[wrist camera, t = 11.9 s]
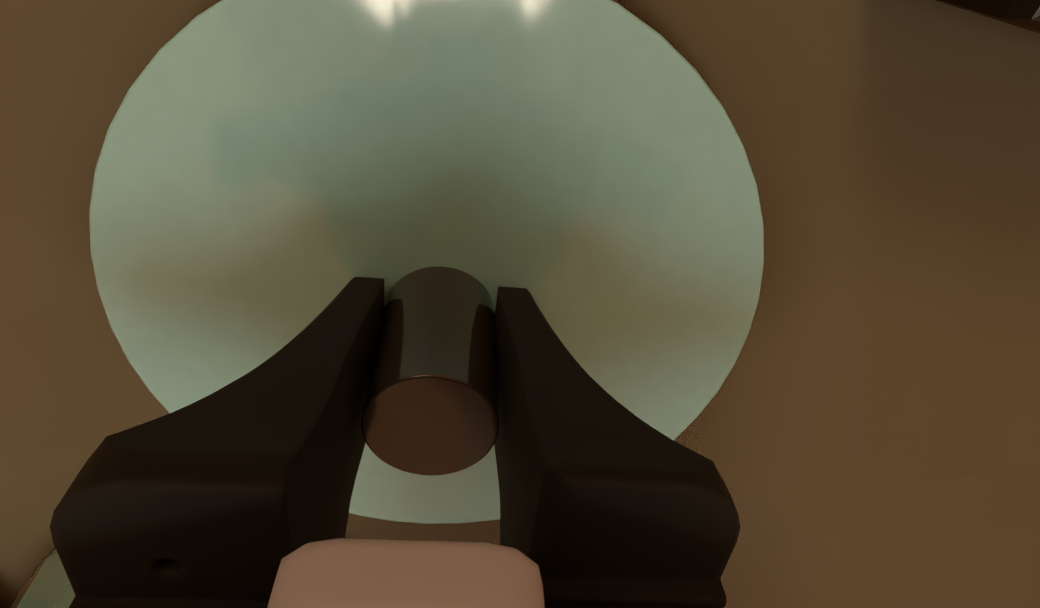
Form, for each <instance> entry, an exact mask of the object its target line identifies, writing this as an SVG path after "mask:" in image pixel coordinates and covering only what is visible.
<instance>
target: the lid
mask: <svg viewBox="0 0 1040 608" xmlns="http://www.w3.org/2000/svg"><path fill="white" fill-rule="evenodd" d="M89 219H90V252H91V257H92V262H93V268H94V273H95V278H96V283H97V288H98V292H99V295H100V298H101V301H102V304H103V306H104V309H105V312H106V315H107V318H108V321H109V323H110V326H111V328H112V330H113V332H114V334H115V336H116V338H117V340H118V342H119V344H120V346H121V348H122V350H123V351H124V353H125V355H126V357H127V359H128V361H129V362H130V364H131V365H132V367H133V368H134V370H135V371H136V372H137V374H138V375H139V377H140V378H141V380H142V381H143V382H144V384H145V385H146V387H147V388H148V390H149V391H150V392H151V393H152V394H153V395H154V397H155V398H156V399H157V400H158V401H159V402H160V403H161V404H162V406H163V407H164V408H165V409H166V410H167V411H168V412H169V413H172V412H174V411H176V410H179V409H181V408H183V407H185V406H188V405H190V404H192V403H194V402H196V401H198V400H200V399H202V398H204V397H206V396H208V395H210V394H212V393H214V392H216V391H218V390H219V389H221V388H223V387H225V386H226V385H228V384H230V383H232V382H233V381H235V380H237V379H239V378H240V377H242V376H244V375H245V374H247V373H249V372H250V371H252V370H253V369H255V368H256V367H258V366H259V365H261V364H262V363H263V362H265V361H266V360H268V359H269V358H270V357H272V356H273V355H274V354H275V353H277V352H278V351H279V350H280V349H282V348H283V347H284V346H285V345H286V344H288V343H289V342H290V341H291V340H292V339H293V338H294V337H296V336H297V335H298V334H299V333H300V332H301V331H303V330H304V329H305V328H306V327H307V326H308V325H309V324H310V323H311V322H312V321H313V320H314V319H315V318H316V317H317V316H318V315H319V314H320V313H321V312H322V311H323V310H324V309H325V308H326V307H327V306H328V305H329V304H330V303H331V302H332V300H333V299H334V298H335V297H336V296H337V295H338V294H339V293H340V292H341V290H342V289H343V288H344V287H345V286H346V285H347V283H348V282H349V281H350V280H351V279H353V278H354V277H367V278H382V279H384V312H383V316H382V321H381V326H380V331H379V335H378V340H377V344H376V349H375V354H374V358H373V363H372V368H371V372H370V377H369V382H368V387H367V391H366V396H365V401H364V406H363V410H362V415H361V431H362V434H363V437H364V439H365V442H366V443H365V447H364V450H363V454H362V458H361V461H360V465H359V468H358V472H357V476H356V479H355V484H354V488H353V492H352V497H351V502H350V508H349V513H351V514H355V515H359V516H364V517H370V518H376V519H383V520H389V521H396V522H410V523H424V524H453V523H471V522H481V521H491V520H498V519H500V494H499V481H498V473H497V464H496V455H495V447H494V444H495V442H496V439H497V437H498V432H499V403H498V376H497V352H496V332H495V311H496V302H497V293H498V286H500V287H515V288H527V289H528V291H529V292H530V293H531V295H532V297H533V298H534V300H535V302H536V304H537V305H538V307H539V309H540V310H541V312H542V314H543V315H544V317H545V318H546V320H547V322H548V323H549V325H550V326H551V328H552V329H553V331H554V332H555V333H556V335H557V336H558V337H559V339H560V340H561V342H562V343H563V344H564V346H565V347H566V348H567V350H568V351H569V352H570V354H571V355H572V356H573V357H574V358H575V360H576V361H577V362H578V363H579V364H580V366H581V367H582V368H583V369H584V370H585V371H586V372H587V373H588V375H589V376H590V377H591V378H592V379H594V380H595V381H596V382H597V383H598V384H599V385H600V386H601V387H602V388H603V389H604V390H605V391H606V392H607V393H608V394H609V395H611V396H612V397H613V398H614V399H615V400H616V401H618V402H619V403H620V404H621V405H623V406H624V407H625V408H627V409H628V410H629V411H630V412H632V413H633V414H634V415H635V416H637V417H638V418H640V419H641V420H643V421H644V422H645V423H647V424H648V425H650V426H651V427H653V428H654V429H656V430H657V431H659V432H661V433H662V434H664V435H665V436H667V437H668V438H670V439H672V440H673V441H674V440H675V439H676V438H677V437H678V436H679V435H680V434H681V433H682V432H683V431H684V430H685V429H686V428H687V427H688V426H689V425H690V424H691V423H692V422H693V421H694V420H695V419H696V418H697V417H698V416H699V414H700V413H701V412H702V411H703V409H704V408H705V407H706V406H707V404H708V403H709V402H710V401H711V399H712V398H713V397H714V396H715V395H716V393H717V392H718V390H719V389H720V387H721V386H722V384H723V382H724V381H725V379H726V377H727V376H728V374H729V373H730V371H731V369H732V368H733V366H734V364H735V363H736V361H737V358H738V356H739V354H740V352H741V349H742V347H743V345H744V343H745V340H746V338H747V336H748V334H749V331H750V328H751V324H752V321H753V317H754V314H755V310H756V307H757V304H758V300H759V295H760V288H761V280H762V273H763V266H764V223H763V217H762V211H761V206H760V200H759V194H758V188H757V183H756V180H755V177H754V175H753V172H752V169H751V166H750V163H749V160H748V157H747V154H746V151H745V148H744V145H743V143H742V141H741V139H740V137H739V135H738V134H737V132H736V130H735V128H734V126H733V124H732V122H731V120H730V118H729V116H728V115H727V113H726V111H725V109H724V107H723V105H722V104H721V103H720V101H719V100H718V99H717V97H716V96H715V95H714V93H713V92H712V90H711V89H710V88H709V86H708V85H707V84H706V82H705V81H704V80H703V78H702V77H701V76H700V74H699V73H698V72H697V70H696V69H695V68H694V67H693V66H692V65H691V64H690V63H689V62H688V61H687V60H686V59H685V58H684V57H683V56H682V55H681V54H680V53H679V52H678V51H677V50H676V49H675V48H674V47H673V46H672V45H671V44H670V43H669V42H668V41H667V40H666V39H665V38H664V37H663V36H662V35H661V34H660V33H659V32H658V31H656V30H655V29H654V28H653V27H651V26H650V25H648V24H647V23H646V22H644V21H643V20H642V19H640V18H639V17H638V16H636V15H635V14H633V13H632V12H631V11H629V10H628V9H627V8H625V7H624V6H622V5H621V4H620V3H618V2H617V1H616V0H221V1H219V2H217V3H216V4H214V5H213V6H211V7H210V8H208V9H207V10H205V11H203V12H202V13H200V14H199V15H197V16H196V17H195V18H194V19H192V20H191V21H190V22H189V23H188V24H187V25H186V26H185V27H184V28H183V29H181V30H180V31H179V32H178V33H177V34H176V35H175V36H174V37H173V38H171V39H170V40H169V41H168V42H167V43H166V44H165V45H164V46H163V47H162V48H160V49H159V50H158V52H157V53H156V54H155V56H154V57H153V58H152V59H151V61H150V62H149V63H148V65H147V66H146V67H145V68H144V70H143V71H142V72H141V74H140V75H139V76H138V77H137V79H136V80H135V81H134V83H133V84H132V85H131V86H130V88H129V90H128V92H127V93H126V95H125V97H124V99H123V101H122V103H121V105H120V107H119V109H118V110H117V112H116V114H115V116H114V118H113V120H112V122H111V124H110V126H109V127H108V130H107V133H106V137H105V140H104V143H103V146H102V149H101V152H100V155H99V158H98V161H97V165H96V168H95V173H94V181H93V188H92V195H91V202H90V209H89Z"/></svg>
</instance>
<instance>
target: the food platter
mask: <svg viewBox="0 0 1040 608" xmlns="http://www.w3.org/2000/svg"><path fill="white" fill-rule="evenodd" d="M937 1H940V2H943V3H947V4H950V5H953V6H956V7H959V8H962V9H965V10H968V11H972V12H975V13H978V14H981V15H984V16H987V17H990V18H993V19H997V20H1000V21H1003V22H1006V23H1009V24H1012V25H1015V26H1018V27H1022V28H1025V29H1028V30H1031V31H1034V32H1037V33H1040V0H937Z"/></svg>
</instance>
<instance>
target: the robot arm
mask: <svg viewBox="0 0 1040 608" xmlns="http://www.w3.org/2000/svg"><path fill="white" fill-rule="evenodd" d="M383 312H384V279H382V278H367V277H354V278H353V279H351V280H350V281H349V282H348V283H347V285H346V286H345V287H344V288H343V289H342V290H341V292H340V293H339V294H338V295H337V296H336V297H335V298H334V299H333V300H332V302H331V303H330V304H329V305H328V306H327V307H326V308H325V309H324V310H323V311H322V312H321V313H320V314H319V315H318V316H317V317H316V318H315V319H314V320H313V321H312V322H311V323H310V324H309V325H308V326H307V327H306V328H305V329H304V330H303V331H301V332H300V333H299V334H298V335H297V336H296V337H294V338H293V339H292V340H291V341H290V342H289V343H288V344H286V345H285V346H284V347H283V348H282V349H280V350H279V351H278V352H277V353H275V354H274V355H273V356H272V357H270V358H269V359H268V360H266V361H265V362H263V363H262V364H261V365H259V366H258V367H256V368H255V369H253V370H252V371H250V372H249V373H247V374H245V375H244V376H242V377H240V378H239V379H237V380H235V381H233V382H232V383H230V384H228V385H226V386H225V387H223V388H221V389H219V390H218V391H216V392H214V393H212V394H210V395H208V396H206V397H204V398H202V399H200V400H198V401H196V402H194V403H192V404H190V405H188V406H185V407H183V408H181V409H179V410H176V411H174V412H172V413H170V414H167V415H165V416H162V417H160V418H157V419H155V420H152V421H149V422H146V423H144V424H141V425H138V426H135V427H133V428H130V429H127V430H124V431H122V432H119V433H116V434H113V435H110V436H107V437H106V438H105V439H104V441H103V442H102V443H101V444H100V446H99V447H98V448H97V449H96V450H95V452H94V453H93V454H92V455H91V457H90V458H89V459H88V461H87V462H86V463H85V465H84V466H83V468H82V469H81V470H80V472H79V473H78V475H77V477H76V478H75V480H74V481H73V483H72V484H71V486H70V487H69V489H68V490H67V492H66V493H65V495H64V496H63V498H62V500H61V501H60V503H59V504H58V506H57V507H56V509H55V510H54V513H53V517H52V520H51V524H50V529H51V534H52V539H53V543H54V545H55V548H56V550H57V553H58V555H59V557H60V560H61V562H62V565H63V567H64V569H65V572H66V574H67V577H68V579H69V581H70V584H71V586H72V589H73V591H74V593H75V597H74V599H73V601H72V603H71V604H70V606H69V608H724V607H725V604H726V595H725V592H724V589H723V586H722V583H721V580H720V578H721V576H722V573H723V571H724V569H725V567H726V564H727V562H728V560H729V558H730V556H731V553H732V551H733V549H734V547H735V544H736V542H737V539H738V535H739V531H740V523H739V517H738V513H737V510H736V508H735V505H734V503H733V500H732V498H731V495H730V493H729V491H728V489H727V487H726V485H725V483H724V481H723V479H722V477H721V476H720V474H719V472H718V471H717V469H716V467H715V465H714V463H713V461H711V460H709V459H707V458H705V457H704V456H702V455H700V454H698V453H696V452H694V451H692V450H690V449H688V448H686V447H685V446H683V445H681V444H679V443H677V442H675V441H673V440H672V439H670V438H668V437H667V436H665V435H664V434H662V433H661V432H659V431H657V430H656V429H654V428H653V427H651V426H650V425H648V424H647V423H645V422H644V421H643V420H641V419H640V418H638V417H637V416H635V415H634V414H633V413H632V412H630V411H629V410H628V409H627V408H625V407H624V406H623V405H621V404H620V403H619V402H618V401H616V400H615V399H614V398H613V397H612V396H611V395H609V394H608V393H607V392H606V391H605V390H604V389H603V388H602V387H601V386H600V385H599V384H598V383H597V382H596V381H595V380H594V379H592V378H591V377H590V376H589V375H588V373H587V372H586V371H585V370H584V369H583V368H582V367H581V366H580V364H579V363H578V362H577V361H576V360H575V358H574V357H573V356H572V355H571V354H570V352H569V351H568V350H567V348H566V347H565V346H564V344H563V343H562V342H561V340H560V339H559V337H558V336H557V335H556V333H555V332H554V331H553V329H552V328H551V326H550V325H549V323H548V322H547V320H546V318H545V317H544V315H543V314H542V312H541V310H540V309H539V307H538V305H537V304H536V302H535V300H534V298H533V297H532V295H531V293H530V292H529V291H528V289H527V288H515V287H500V286H498V293H497V302H496V311H495V332H496V352H497V376H498V403H499V432H498V437H497V439H496V442H495V444H494V447H495V455H496V464H497V473H498V481H499V494H500V545H498V544H493V543H488V542H469V541H433V540H396V539H360V538H345V533H346V527H347V521H348V514H349V508H350V502H351V497H352V492H353V488H354V484H355V479H356V476H357V472H358V468H359V465H360V461H361V458H362V454H363V450H364V447H365V443H366V442H365V439H364V437H363V434H362V431H361V415H362V410H363V406H364V401H365V396H366V391H367V387H368V382H369V377H370V372H371V368H372V363H373V358H374V354H375V349H376V344H377V340H378V335H379V331H380V326H381V321H382V316H383Z"/></svg>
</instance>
